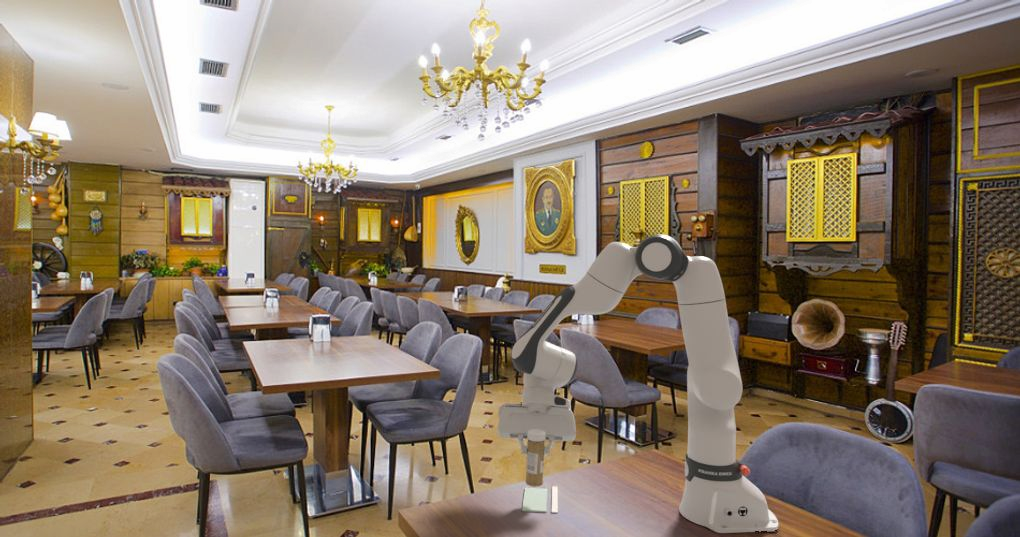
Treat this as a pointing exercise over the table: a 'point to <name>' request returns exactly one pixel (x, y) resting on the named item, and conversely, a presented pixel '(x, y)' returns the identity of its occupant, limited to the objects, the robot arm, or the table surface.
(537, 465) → the sprinkles bottle
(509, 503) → the table surface
